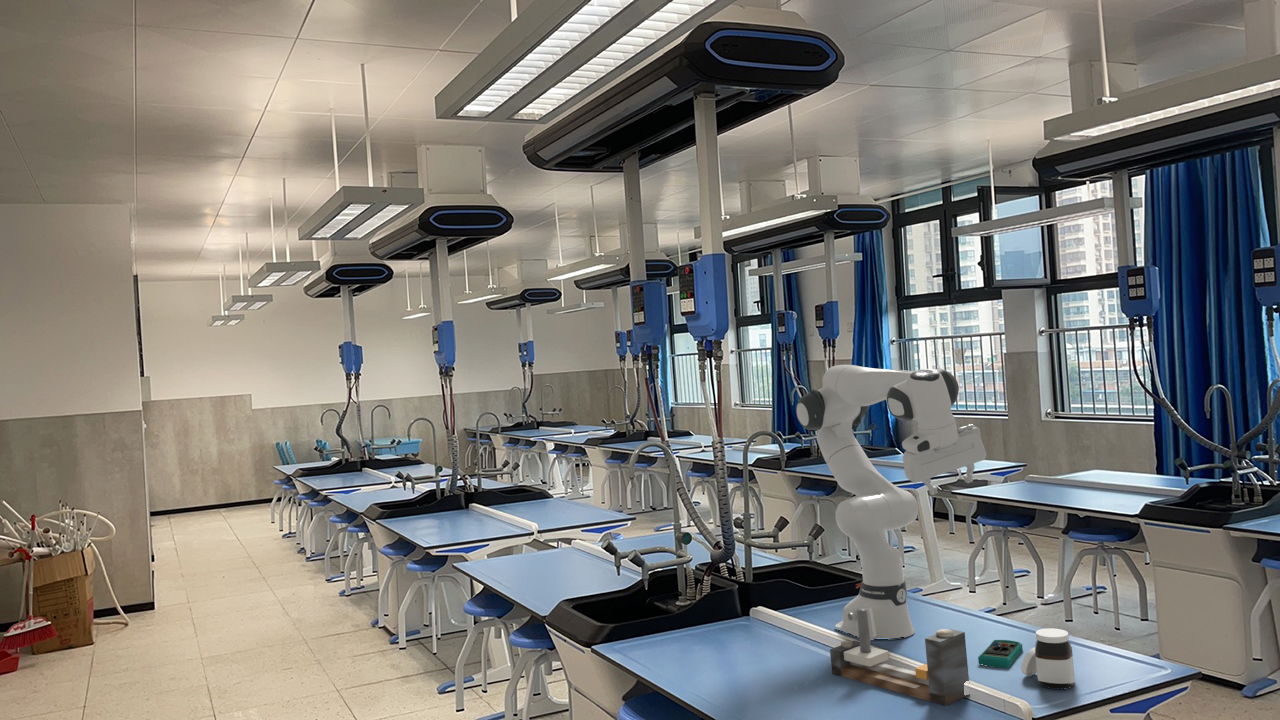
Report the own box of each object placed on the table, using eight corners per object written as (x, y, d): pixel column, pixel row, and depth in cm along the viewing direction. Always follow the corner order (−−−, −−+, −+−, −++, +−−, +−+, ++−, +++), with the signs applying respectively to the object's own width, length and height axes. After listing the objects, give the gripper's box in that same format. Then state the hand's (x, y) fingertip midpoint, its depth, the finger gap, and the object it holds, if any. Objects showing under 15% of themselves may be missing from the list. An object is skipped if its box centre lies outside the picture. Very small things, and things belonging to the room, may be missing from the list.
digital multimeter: (1024, 652, 235) (1022, 640, 235) (1009, 670, 223) (1008, 658, 223) (994, 649, 239) (992, 637, 239) (978, 667, 227) (977, 655, 227)
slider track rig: (832, 673, 230) (826, 613, 231) (856, 664, 236) (851, 605, 236) (945, 705, 204) (939, 638, 204) (970, 694, 209) (964, 628, 209)
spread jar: (1073, 693, 205) (1068, 640, 205) (1018, 688, 210) (1013, 637, 210) (1077, 675, 215) (1072, 624, 215) (1025, 671, 221) (1020, 622, 221)
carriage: (844, 660, 228) (839, 610, 228) (863, 652, 232) (858, 604, 233) (869, 666, 222) (865, 615, 222) (888, 659, 226) (884, 609, 226)
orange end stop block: (916, 677, 212) (915, 668, 212) (929, 671, 215) (928, 662, 215) (927, 679, 210) (926, 671, 210) (940, 674, 213) (939, 665, 213)
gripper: (971, 419, 231) (983, 471, 233) (895, 444, 228) (908, 496, 231) (984, 424, 225) (996, 477, 227) (906, 449, 222) (919, 503, 224)
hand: (951, 487), depth 229 cm, fingers open, 8 cm apart
